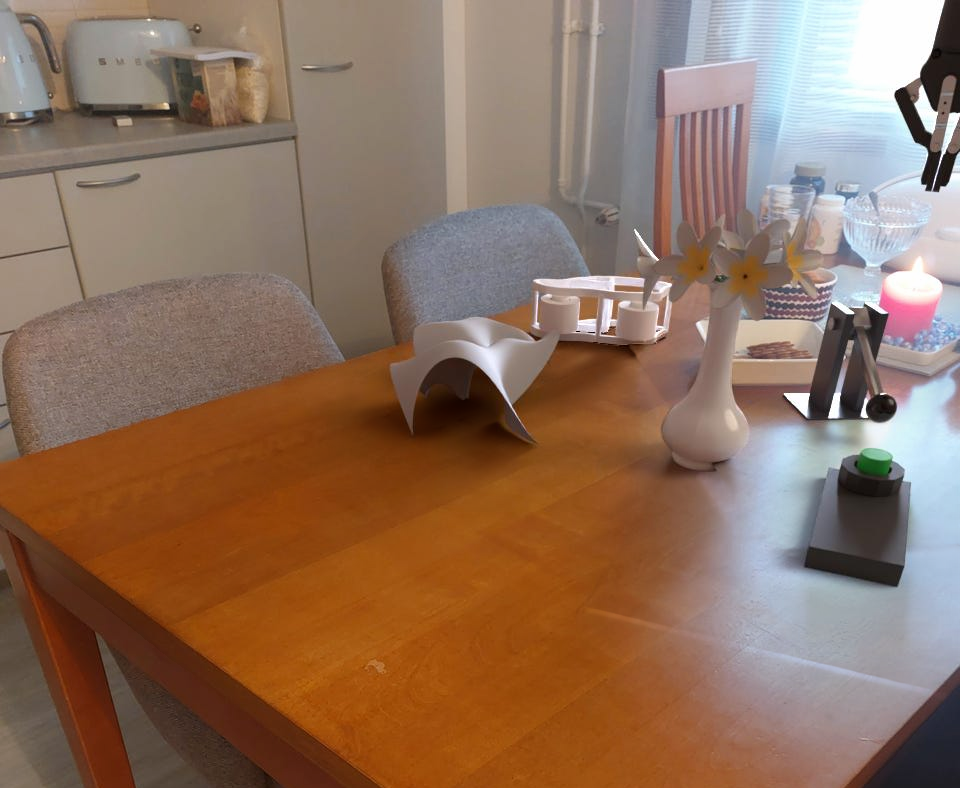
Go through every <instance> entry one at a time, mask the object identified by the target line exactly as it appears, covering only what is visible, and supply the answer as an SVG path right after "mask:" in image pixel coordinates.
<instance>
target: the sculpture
mask: <svg viewBox="0 0 960 788" xmlns="http://www.w3.org/2000/svg"><path fill="white" fill-rule="evenodd" d="M559 337H560V330H555V331H552V332H550V333H548V334H547V335H545V336H544V337H543V338H540V339H539V340H535V339H534V338H533V337H532V336H531V335H530V334H528V333H527V332H525V331H524V330H522V329H521V328H518V327H516V326H513V325H510V324H507V323H503V322H500V321H498V320H494V319H491V318H487V317H482V316H470V317H466V318H464V319H459V320H446V321H437V322H436V321H435V322H428V323H422V324H418V325H416V327H415V328H414V330H413V336H412V344H413V353H414V356H412V357H410V358H408V359H406V360H403V361H399V362H395V363H394V362H393V363H390V365H389V371H390V372H389V373H390V376H391V377H390V378H391V381H392V384H393V387H394V390H395V393H396V396H397V400H398V401H399V404H400V407H401V409H402V412H403V416H404V418H405V420H406V422H407V425H408V427H409V430H410V433H411V435H412V436H414V428H413V427H414V426H413V425H414V424H413V422H414V411H415V404H416V400H417V397H418V393H419V392H420V394H421V395H422V396H424V398H426V397H427V395H428V393H429V391H430V389H432V388H433V386H435V385H438V384H439V385H440V384H441V385H445V386H447V387H448V388H450V389H451V390H452V391H453V393H455V394H456V396H457V398H458V399H461V400H462V401H464V400H466V399H469V395H470V386H471V382H472V377H473V373H474V372H475V369H476V366H477V367H478V368H479V369H481V370H482V371H483V372H484V373H485V375H487V376H488V377H489V379H490V380H491V381H492V382H493V384H494V385H495V386H496V388H497V389H498V390H499V392H500V393H501V394H502V396H503V398H504V423H505V425H506V427H507V428H508V429H509V430H510V431H512V432H513V433H514V434H516V435H517V436H519V437H521V438H523V439H524V440H527V441H529V442H530V443H533V444H535V445H539V443H538V442H537V441H536V440H535V439H534V438H533V437H532V436H531V434H530V433H529V432H528V431H527V429H526V427H525V426H524V425H523V423H522V421H521V420H520V418H519V416H518V414H517V413H516V411H515V409H514V407H513V405H514V404H515V403H516V402H517V400H518V399H519V398H521V396H523V394H524V393H525V392H526V391H527V390H528V389H529V387H530V386H531V385H532V383H533V382H534V381H535V380H536V379H537V378H538V376H539V374H541V372H542V370H543V368H545V366H546V365H547V363H548V365H549V367H550V369H551V363H550V360H549V359H550V358H551V356H552V355H553V353H554V350H555V349H556V348H557V347H556V346H557V345H558V343H559V341H560V340H559Z"/></svg>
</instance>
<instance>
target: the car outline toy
mask: <svg viewBox="0 0 960 788" xmlns="http://www.w3.org/2000/svg"><path fill="white" fill-rule="evenodd" d="M644 281H645V279H643V278H641V277H632V276H618V275H617V276H616V275H591V276H577V277H575V276H574V277H570V278H561V279H559V278H557V279H555V278H535V279H533V280H532V300H531V316H530V317H531V318H530V325H529V333H530V334H531V335H533V336H535V337H537V338H540V339H542V338H543V337H544V336H545V335H547V334H548V333H550V332H552V331H555V330H560V337H559V340H558V341H562V342H565V341H566V342H588V343H593V342H598V343H597V344H600V343H610V344H611V343H612V344H633V343H653V342H656V340H657V338H658V337H660V336H661V335H663V334H665V333H667V332H668V333H669V328H670V320H671V314H672V306H673V302H670V301H669V291H670V288H671V286H672V284H673V283H670V282H666V281H660V280H658V282H657V283H656V285H655V287H654V288H653V290H652V292H651V294H650V297H649V299H648V301H647V304H646V306H645V309H644V311H643V305H642V304H643V302H642V301H643V291H621V290H615V287H616V286H624V287H625V286H626V287H635V288H636V287H638V288H644ZM539 293H540V294H544V295H542V296H541V297H540V302H539ZM580 297H583V298H585V297H586V298H594V299H598V300H597V309H596V310H597V311H596V318H588V319H582V320H581V319H580V309H581V298H580ZM665 297H666V302H665V303H666V304H665V311H664V318H663V324H662V326H661V325H658V318H659V311H660V306H659V305H658V304H657V303H655V302H661V301H663V298H665ZM614 301H620V302H618V303H617V313H616V319H612V317H613V316H612V315H613V308H614V307H613V306H614ZM539 303H540V304H539ZM538 304H539V320H538ZM537 320H538V321H537ZM610 326H616V328H615V332H614V334H615V335H608V334H601V332H603V333H604V332H608V333H609V331H610V328H609V327H610ZM608 330H609V331H608ZM656 330H660V331H658V332H656ZM576 331H580V332H576ZM588 332H595V333H588ZM656 343H657V342H656Z"/></svg>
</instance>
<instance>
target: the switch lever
mask: <svg viewBox="0 0 960 788" xmlns="http://www.w3.org/2000/svg"><path fill="white" fill-rule="evenodd" d="M847 308H848V309H849V310H850V311H852V312H853V313H855V316H854V320H853V324H852V328H851V332H850V336H849V340H848V341H853V344H855V347H856V350H857V354H858V357H859V360H860V364H861V367H862V371H863V374H864V377H865V381H866V384H867V387H868V391H867V392H868V394H869V397H870V398H869V399H868V402H867V405H866V415H867V417H868V418H869V419H868V420H870V421H871V422H873V423H876V424H885V423H887V422H889V421H891V420H892V419H893V418H894V417H895V415H896V413H897V411H898V403H897V400H896V399H895V397H894V396H893V395H891V394H889V393H886V392H885V391H884V388H883V385H882V382H881V378H880V376H879V372H878V368H877V365H876V362H874V358H873V355H872V352H871V349H870V345H869V342H868V339H867V336H866V335H867V333H868V332H869V330H870V328H871V327H872V324H871V320H870V317H869V314H868V311H867V308H866V307H863V306H849V307H847Z"/></svg>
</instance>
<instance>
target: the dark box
mask: <svg viewBox="0 0 960 788" xmlns="http://www.w3.org/2000/svg"><path fill="white" fill-rule="evenodd" d="M859 456H860V454H850V455H848V456H845V457H844V458H842V460H841V463H840V467H839V468H833V467H828V469H827V473H826V477H825V481H824V485H823V489H822V493H821V497H820V501H819V505H818V507H817V513H816V517H815V521H814V524H813V529H812V533H811V536H810V540H809V545H808V548H807V552H806V556H805V560H804V564H803V568H806V569H810V570H816V571H820V572H823V573H824V572H825V573H829V574H834V575H839V576H844V577H847V578H848V577H849V578H852V579H857V580H862V581H867V582H871V583H876V584H881V585H884V586H885V585H886V586H890V587H895V588H898V587H899V584H900V581H901V579H902V575H903V572H904V569H905V567H906V556H907V555H906V554H907V541H908V527H909V515H910V501H911V487H912V482H911V481H906V480H904V479H905V471H906V470H905V468H904V467H902V465H900V464H899V462H896V461H894V460H892V462H891V465H890V468H889V471H888V474H886V475H874V474H869V473H865V472H863V471H860V470H858V469H857V468H856V467H857V463H858V459H859Z"/></svg>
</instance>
